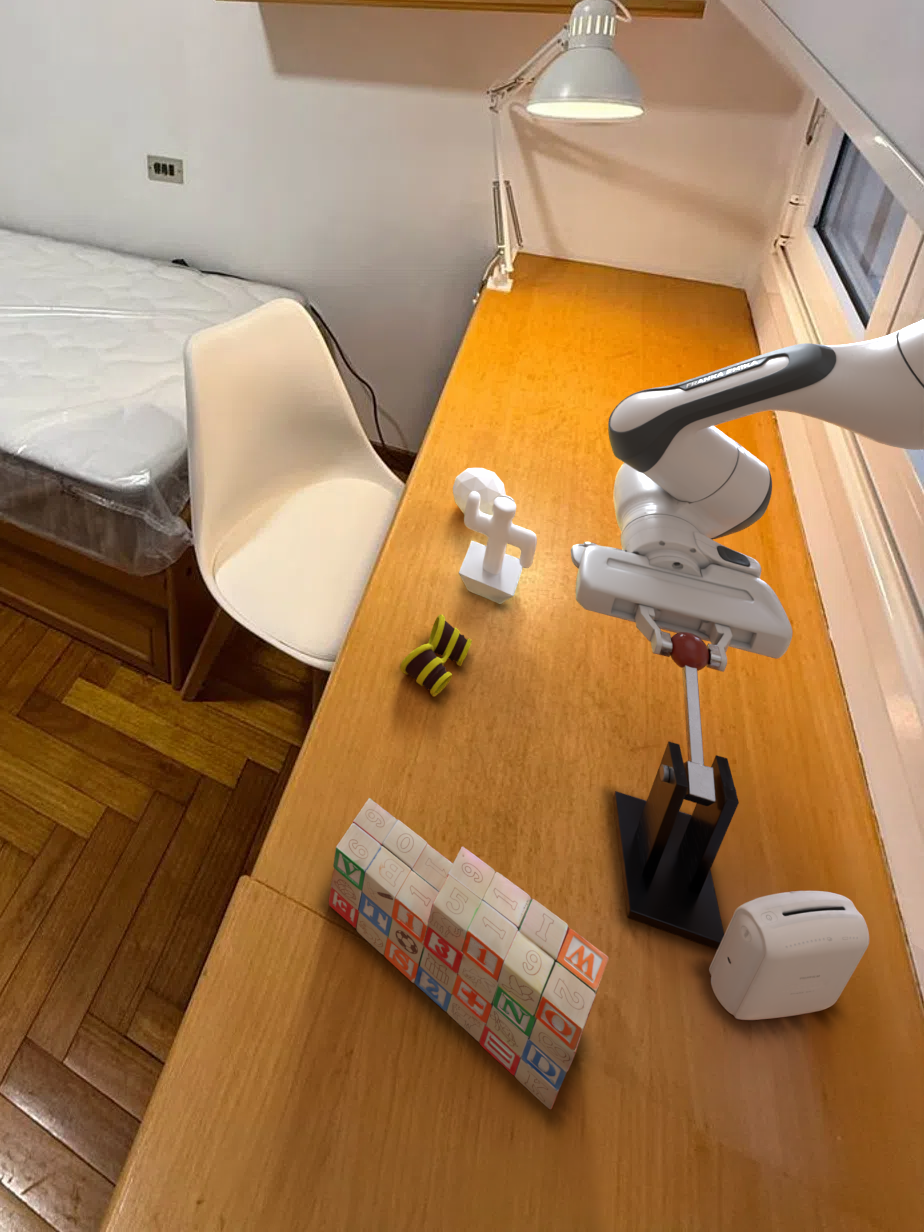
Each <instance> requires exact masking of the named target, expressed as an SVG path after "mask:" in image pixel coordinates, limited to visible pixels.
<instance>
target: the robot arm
mask: <svg viewBox="0 0 924 1232" xmlns="http://www.w3.org/2000/svg"><path fill="white" fill-rule="evenodd" d="M771 411H772V412H773V411H774V412H788V413H795V414H798V415H801V416H806V417H810V418H813V419H816V420H819V421H822V422H825V423H828V424H831V425H833V426H836V427H839V428H841V429H843V430H846V431H848V432H851V433H854V434H856V435H858V436H860V437H862V438H864V439H866V440H870V441H873V442H875V443H879V444H882V445H884V446H885V445H886V446H889V447H892V448H898V449H904V450H910V451H911V450H912V451H915V450H916V451H918V450H919V451H921V450H924V319H921V320H919V321H917V322H914V323H912V324H910V325H907V326H906V327H903V328H902V329H900V330H896V331H894V332H893V333H890V334H887V335H885V336H881V337H878V338H873V339H870V340H864V341H859V342H854V343H847V344H831V345H825V344H819V343H812V342H811V343H810V342H809V343H808V342H806V343H798V344H793V345H789V346H785V347H782V348H778V349H775V350H772V351H769V352H766V353H762V354H760V355H757V356H753V357H751V358H748V359H745V360H742V361H739V362H736V363H733V364H730V365H727V366H725V367H722V368H719V369H716V370H713V371H710V372H707V373H704V374H701V375H699V376H696V377H692V378H690V379H686V380H684V381H683V380H682V381H680V382H678V383H677V382H676V383H673V384H670V385H666V386H665V385H662V386H657V387H652V388H646V389H642V390H639V391H636V392H633V393H631V394H630V395H628V396H626V397H625V398H624V399H622V400H621V401H620V402H618V404H617V405H616V406H615V407H614V409H613V410H612V411H611V413H610V414H609V418H608V421H607V422H608V423H607V430H608V431H607V434H608V439H609V443H610V448H611V451H612V453H613V456H614V457H615V458H616V459H618V460H619V461H621V462H623V463H622V464H621V466H620V467H619V469H618V471H617V472H616V475H615V479H614V484H613V494H612V495H613V497H612V498H613V508H614V514H615V520H616V523H617V526H618V528H619V530H620V546H621V548H618V547H613V546H607V545H605V546H604V545H600V544H597V543H595V542H591V541H583V543H576V544H573V545H572V546H571V547H570V558H571V562H572V564H573V565H574V567H576V568H577V573H576V579H575V590H574V591H575V600H576V602H577V604H579V605H580V606H581V607H582V608H583V609H584V610H586V611H588V612H589V611H590V612H593V613H596V614H599V615H600V614H601V615H604V616H608V617H612V618H616V619H621V620H623V621H628V622H632V623H635V627H636V629H638V631H639V632H640V633H641V634H642V635H643V636H644V637H645V639H647V641H649V642H650V646H651V651H652V654H655V655H658V656H663V657H666V658H671V656H670V652H672V648H673V644H672V641H671V637H672V636H671V633H675V634H676V633H679V632H688V633H692V634H694V635H696V636H698V637H699V638H700V639H701V640H702V641H705V642H707V644H706V646H707V648H708V651H709V661H708V664H707V665H706V666H705V668H706V669H707V668H708V669H711V670H715V671H718V672H722V673H724V672H725V671H726V668H727V665H728V656H727V652H728V649H729V648H733V649H737V650H741V651H745V652H749V653H752V654H756V655H759V656H764V657H768V658H771V659H775V660H777V659H780V658H782V657H783V656H784V655H785V654H786V653H787V651H788V649H789V647H790V645H791V642H792V638H793V627H792V624H791V622H790V620H789V617H788V614H787V613H786V611H785V608H784V607H783V604H782V602H781V600H780V599H779V597H778V595H777V594H776V592H775V591H774V589H773V588H772V587H771V586H770V585H769V584H768V583H767V582H766V581H764V580H762V579H761V576H762V566H761V563H760V562H759V561H758V560H757V559H755V558H753V557H751V556H749V555H747V554H745V553H742V552H739V551H737V550H734V549H732V548H731V547H727V546H725V545H724V544H722V543H719V542H717V541H715V540H717V539H720V538H724V537H727V536H729V535H733V534H735V533H738V532H741V531H744V530H745V529H747V528H749V527H751V526H752V525H753V524H755V523H756V522H758V521H759V520H760V519H762V517H763V516H764V515H765V514H766V511H767V510H768V508H769V505H770V501H771V498H772V493H773V477H772V474H771V471H770V469H769V467H768V466H767V464H765V463H764V462H763V461H761V460H760V459H759V458H757V456H755V455H754V454H752V453H751V452H750V451H749V450H747V449H746V448H745V447H744V446H742V445H741V444H740V443H738V442H737V441H736V440H734V439H733V438H731V437H729V436H728V435H727V434H725V433H724V432H723V431H721V430H720V429H719V428H717V427H716V426H718V425H722V424H724V423H728V422H731V421H735V420H738V419H740V418H745V417H748V416H751V415H755V414H757V413H763V412H771ZM666 631H667V632H666ZM669 632H670V633H669ZM708 642H709V643H708Z"/></svg>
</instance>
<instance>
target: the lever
mask: <svg viewBox="0 0 924 1232" xmlns="http://www.w3.org/2000/svg"><path fill="white" fill-rule="evenodd" d="M671 641H672V644H673V648H672V652H670V658H671V660H672V661H673V662H674V664H675V665H677V666H678V667H679V668H681V669H682V671H681V672H682V684H683V686H682V687H683V701H684V717H685V733H686V734H685V735H686V749H687V760H686V761H685V762H683V763H684V768H685V773H686V778H687V782H688V790H687V792H686V795H685V798H684V800H685V801H689V802H691V803H695V804H696V803H697V804H701V805H704V806H709V805H711V804H713V803H715V802H716V794H715V781H714V769H713V768H711V766H707V765H705V758H704V744H703V731H702V718H701V716H702V715H701V703H700V689H699V676H698V675H699V674H698V671H701V670H703V669H704V668H706V665H707V664H708V661H709V651H708V648H707V644H706V643H705V642H704V640H702V639H700V638H699V637H698V636H696V635H694V634H692V633H688V632H679V633H675V634H673V635H672V636H671Z"/></svg>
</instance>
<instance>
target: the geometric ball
mask: <svg viewBox="0 0 924 1232" xmlns="http://www.w3.org/2000/svg"><path fill="white" fill-rule="evenodd" d="M473 491H476V492H478V493H479V494H480V497H481V499H480V505H479V510H480V511H481V512H482V513H485V514H487V515H493V511H492V508H493V503H494V500H495V498H497V497H499V496H500V495H507V494H506V489H505V484H504V482H503V481H502V480H501V478H500V477H499V476H498V475H497V474H496V472H495V471H492V470H488V469H487V468H483V467H467V468H466V469H464V470H463V471H462V472H460V473H459V474H458V475H457V476H456V477H455V479H454V483H453V486H452V494H453V495H452V496H453V500H454V503H455V505H456V506H457V507H458V508H459V510H460V511H461V512H462V513H463V516H464V515H465V509H466V504H467V499H468V496H469V494H470V493H471V492H473Z"/></svg>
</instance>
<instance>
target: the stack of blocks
mask: <svg viewBox="0 0 924 1232" xmlns="http://www.w3.org/2000/svg"><path fill="white" fill-rule="evenodd" d="M332 866H333V870H332V874H331V875H332V876H331V881H330V891H329V897H328V906H329V907H331V909H333V910H334V911H335V912H336V913H337V914H338V915H339V916H341V917H342V918H343V919H344V920H345V921H346V922H347V923H348V924H349V925H351V926H352V927H353V928H355V930H356V932H357V933H358V935H360V936H361V937H362V938H363V939H365V940H366V941H367V942H368V943H369V944H370V945H371V946H372V947H373V948H374V949H375V950H376V951H378V952H379V954H381V955H383V956H384V958H385V959H386V960H387V961H388V962H389V963H390V964H391V965H393V966H394V967H395V968H396V969H397V970H398V971H399V972H400V973H401V974H402V975H403V976H405V978H407V979H408V980H409V981H410V982H411V983H413V984H414V985H416V986H417V987H418V989H420V990H421V991H422V992H423V993H424V994H425V995H426V996H427V997H429V998H430V999H431V1000H432V1001H433V1002H434V1003H435V1004H436V1005H437V1006H438V1007H440V1008H441V1009H442V1010H443V1012H446V1014H448V1016H449V1017H451V1018H452V1019H453V1021H455V1022H456V1023H457V1024H458V1025H459V1026H460V1027H461V1028H463V1029H464V1030H465V1031H466V1032H467V1033H468V1034H469V1035H470V1036H471V1037H472V1038H474V1040H475V1041H477V1042H478V1043H479V1045H480V1046H481V1047H482V1048H483V1049H484V1050H485V1051H486V1052H487V1053H488V1054H490V1056H491V1057H492V1058H494V1059H495V1060H496V1061H497V1062H498V1063H499V1064H500V1065H501V1066H502V1067H503V1068H504V1069H506V1071H507V1072H509V1073H510V1074H511V1075H513V1076H514V1077H515V1079H516V1080H517V1081H518V1082H519V1083H520V1084H521V1085H522V1086H523V1087H525V1089H527V1091H529V1092H530V1093H531V1094H532V1095H533V1096H534V1097H535V1098H536V1099H537V1100H538V1101H540V1102H541V1103H542V1105H544V1106H545V1107H546V1108H547V1109H549V1110H552V1109H553V1107H554V1104H555V1102H556V1100H557V1097H558V1094H559V1091H560V1089H561V1087H562V1084H563V1082H564V1079H565V1078H566V1076H567V1073H568V1072H569V1070H570V1068H571V1065H572V1063H573V1060H574V1059H575V1055H576V1053H577V1050H578V1046H579V1044H580V1041H581V1038H582V1036H583V1033H584V1030H585V1028H586V1026H587V1022H588V1020H589V1017H590V1014H591V1011H592V1008H593V1006H594V1003H595V999H596V996H597V993H598V991H599V987H600V984H601V981H602V978H603V976H604V973H605V970H606V968H607V964H608V962H609V956H608V955H607V954H606V953H604V952H603V951H602V950H600V949H599V948H597V947H596V946H594V945H593V944H592V943H591V942H590V941H588V940H587V939H586V938H584V937H583V936H581V934H579V933H578V932H576V931H575V930H574V929H572V928H570V926H569V925H568V923H567V922H566V921H564V920H563V919H562V918H560V917H559V916H558V915H556V914H555V913H554V912H553V911H551V910H549V909H548V908H547V907H546V906H544V905H543V904H541V903H540V902H539V901H537V900H536V899H534V898H531V895H530V894H528V893H527V892H526V891H524V890H523V889H522V888H521V887H519V886H517V885H516V884H515V883H514V882H513V881H511V880H510V879H508V878H507V877H505V876H504V875H503V874H502V873H500V872H498V871H496V870H495V869H494V868H493V867H492V866H490V865H489V864H488V863H486V862H485V861H483V860H482V859H480V858H479V857H478V856H476V855H475V854H474V853H472V852H471V851H470V850H469V849H467V848H465V847H464V846H461V847H460V850H459V851H458V853H457V855H456V857H455V859H454V860H453V862H452V861H451V860H450V859H448V858H447V857H446V856H444V855H443V854H441V852H439V851H438V850H437V849H435V848H434V847H433V846H431V845H430V844H429V843H428V842H427V841H426V840H425V839H424V838H423V837H421V836H420V835H419V834H417V832H415V831H414V830H413V829H411V828H410V827H408V826H407V824H405V823H403V822H402V821H401V820H400V819H397V818H396V817H394V815H392V814H391V813H390V812H388V811H387V810H386V809H385V808H383V806H381V805H379V804H378V803H377V802H376V801H375V800H373V799H372V798H370V797H368V799H367V800H366V802H365V803H364V805H363V806H362V807H361V808H360V810H359V812H358V813H357V814H356V816H355V818H354V819H353V821H352V823H351V825H350V826H349V827H348V829H347V830H346V832H345V833H344V835H343V836H342V837H341V839H340V841H339V842H338V843H337V845H336V846H335V851H334V857H333V864H332Z"/></svg>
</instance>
